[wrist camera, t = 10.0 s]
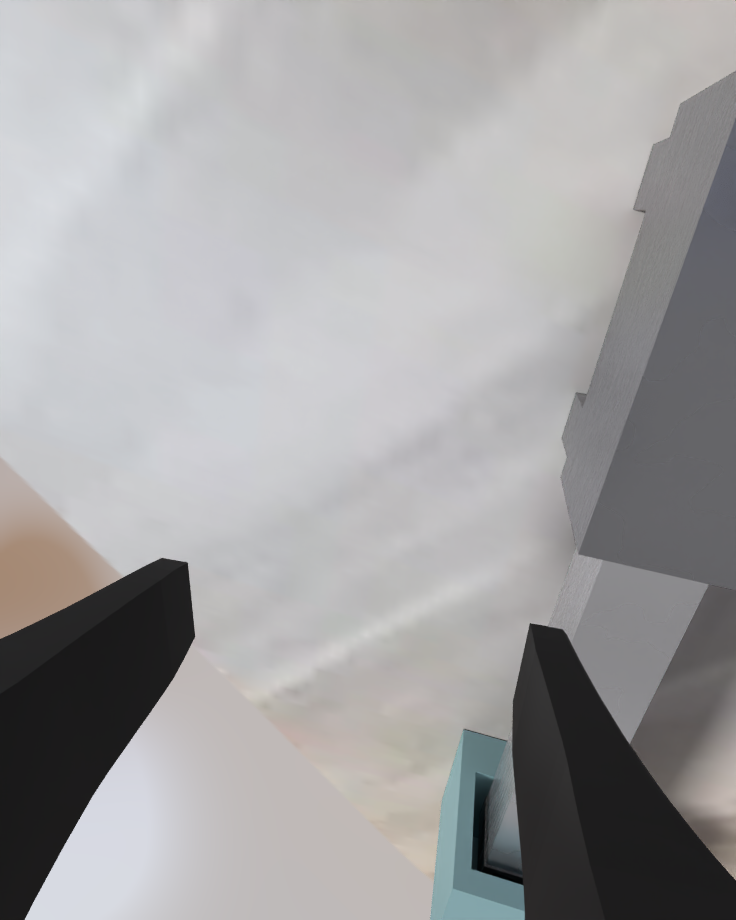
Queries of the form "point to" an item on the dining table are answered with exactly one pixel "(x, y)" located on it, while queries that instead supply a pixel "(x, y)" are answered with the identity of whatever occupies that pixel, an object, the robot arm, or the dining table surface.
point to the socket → (470, 841)
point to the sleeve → (668, 369)
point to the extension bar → (598, 670)
